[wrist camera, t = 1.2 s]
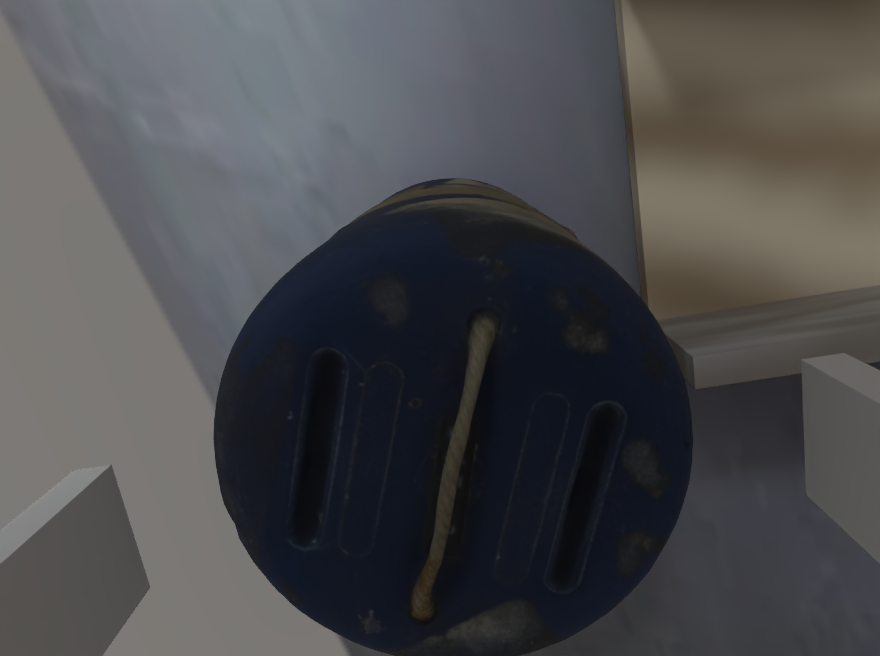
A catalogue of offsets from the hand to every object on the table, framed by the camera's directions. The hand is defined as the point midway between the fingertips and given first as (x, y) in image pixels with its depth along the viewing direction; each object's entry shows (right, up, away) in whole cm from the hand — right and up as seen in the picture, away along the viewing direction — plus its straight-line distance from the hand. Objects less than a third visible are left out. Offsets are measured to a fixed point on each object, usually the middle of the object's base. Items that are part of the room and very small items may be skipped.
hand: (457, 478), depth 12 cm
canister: (0, +5, +16) cm, 17 cm away
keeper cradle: (+14, +11, +14) cm, 23 cm away
